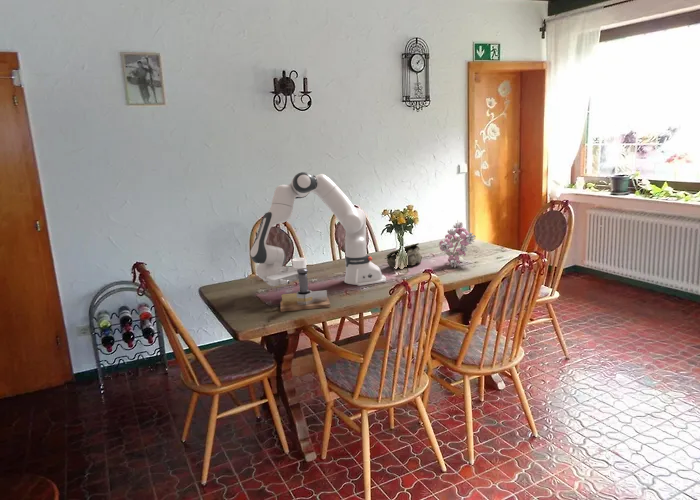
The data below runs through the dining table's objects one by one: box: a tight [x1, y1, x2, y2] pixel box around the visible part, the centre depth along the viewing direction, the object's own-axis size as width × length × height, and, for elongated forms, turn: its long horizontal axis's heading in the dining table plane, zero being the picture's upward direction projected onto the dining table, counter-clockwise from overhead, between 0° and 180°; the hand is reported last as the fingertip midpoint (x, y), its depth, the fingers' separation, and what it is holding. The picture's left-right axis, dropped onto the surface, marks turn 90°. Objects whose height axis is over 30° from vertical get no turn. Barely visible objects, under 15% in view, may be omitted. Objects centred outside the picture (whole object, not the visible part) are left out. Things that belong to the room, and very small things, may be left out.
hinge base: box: [280, 296, 331, 313], centre depth 252 cm, size 23×11×2 cm, turn 98°
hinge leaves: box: [281, 289, 328, 305], centre depth 251 cm, size 21×8×5 cm, turn 98°
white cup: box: [291, 257, 307, 268], centre depth 302 cm, size 8×8×10 cm
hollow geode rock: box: [384, 242, 423, 270], centre depth 310 cm, size 28×13×15 cm
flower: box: [436, 219, 476, 268], centre depth 308 cm, size 20×22×25 cm
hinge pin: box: [297, 267, 309, 295], centre depth 250 cm, size 5×5×16 cm
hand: (296, 280), depth 253 cm, fingers open, 8 cm apart
